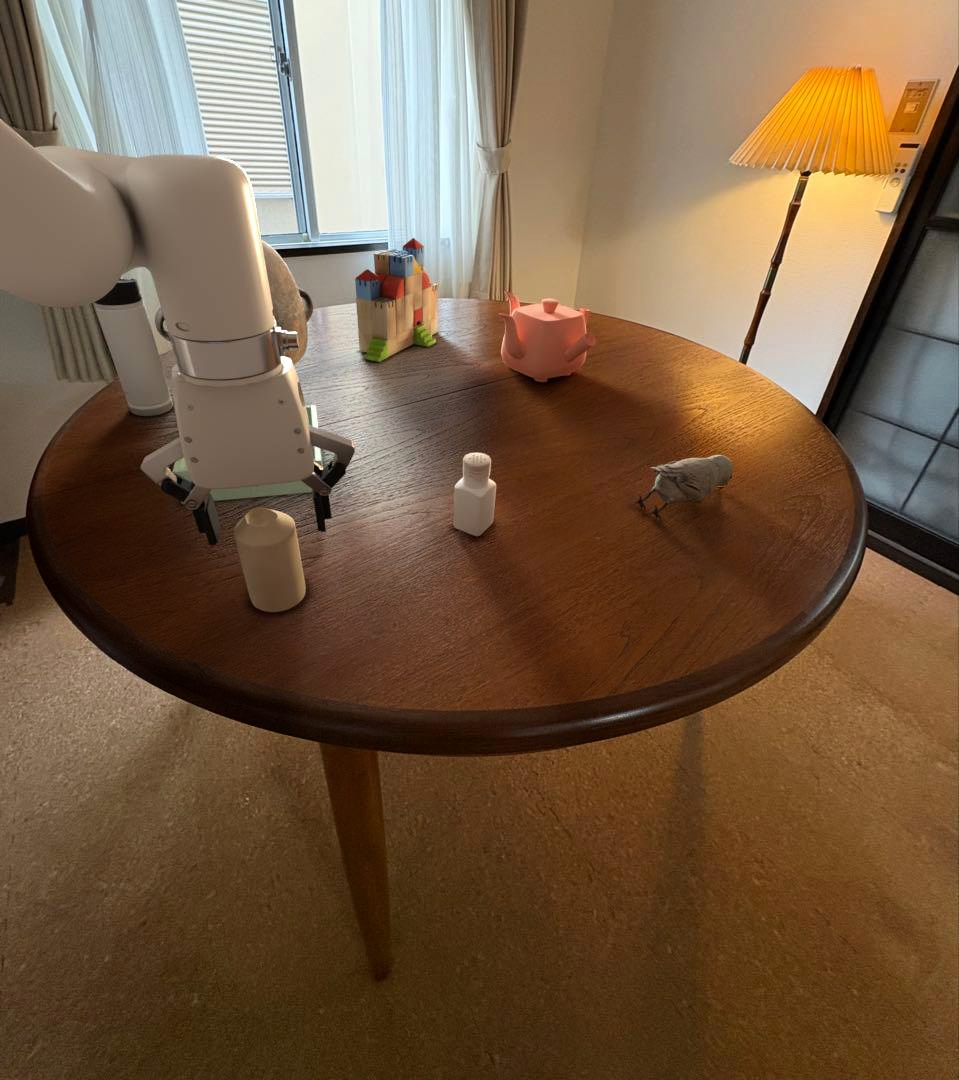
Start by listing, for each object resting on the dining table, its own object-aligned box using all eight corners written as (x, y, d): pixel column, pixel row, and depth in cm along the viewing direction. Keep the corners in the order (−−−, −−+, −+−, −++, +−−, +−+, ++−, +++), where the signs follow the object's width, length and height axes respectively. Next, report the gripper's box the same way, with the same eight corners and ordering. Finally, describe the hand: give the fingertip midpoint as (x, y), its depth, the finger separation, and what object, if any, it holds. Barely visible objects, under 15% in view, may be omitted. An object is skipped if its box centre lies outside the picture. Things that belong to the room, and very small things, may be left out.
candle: (317, 587, 59) (305, 508, 53) (281, 620, 55) (264, 539, 49) (275, 570, 61) (259, 493, 55) (238, 601, 57) (216, 521, 51)
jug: (256, 416, 90) (214, 201, 72) (153, 390, 96) (91, 184, 78) (340, 369, 109) (324, 188, 91) (250, 349, 115) (218, 175, 96)
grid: (181, 504, 70) (171, 472, 67) (198, 440, 83) (190, 411, 80) (325, 491, 74) (321, 460, 71) (319, 432, 87) (315, 404, 85)
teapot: (492, 383, 108) (498, 308, 99) (499, 352, 122) (505, 284, 114) (587, 393, 107) (601, 318, 98) (582, 360, 121) (594, 292, 113)
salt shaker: (467, 513, 72) (471, 447, 66) (494, 523, 70) (500, 457, 65) (450, 528, 69) (453, 460, 63) (478, 539, 68) (483, 471, 62)
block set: (393, 366, 112) (389, 260, 100) (335, 352, 116) (325, 249, 104) (457, 331, 132) (460, 240, 121) (406, 320, 137) (404, 231, 125)
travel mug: (120, 414, 88) (71, 277, 76) (146, 398, 93) (105, 268, 81) (156, 419, 88) (114, 282, 75) (181, 403, 93) (145, 272, 81)
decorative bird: (736, 497, 79) (755, 450, 75) (656, 529, 72) (672, 479, 67) (706, 480, 83) (722, 434, 78) (626, 508, 75) (639, 459, 71)
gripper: (340, 331, 48) (358, 499, 58) (114, 339, 44) (176, 518, 54) (347, 362, 42) (365, 542, 52) (88, 375, 38) (163, 567, 48)
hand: (269, 530), depth 53 cm, fingers open, 9 cm apart
